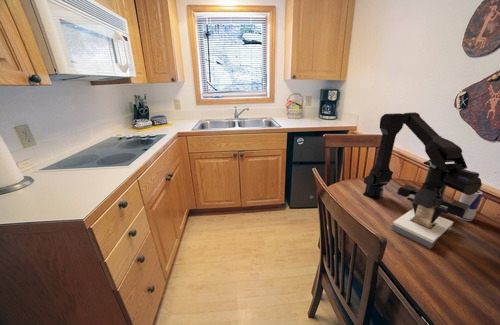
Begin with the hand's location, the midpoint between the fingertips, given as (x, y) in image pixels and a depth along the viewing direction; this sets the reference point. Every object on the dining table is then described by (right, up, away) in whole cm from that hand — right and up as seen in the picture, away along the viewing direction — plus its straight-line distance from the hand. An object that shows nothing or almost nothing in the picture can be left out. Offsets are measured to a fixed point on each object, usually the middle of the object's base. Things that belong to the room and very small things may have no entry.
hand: (423, 219), depth 76 cm
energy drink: (+23, -2, +8) cm, 24 cm away
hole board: (0, -4, +2) cm, 4 cm away
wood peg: (0, -3, +1) cm, 4 cm away
